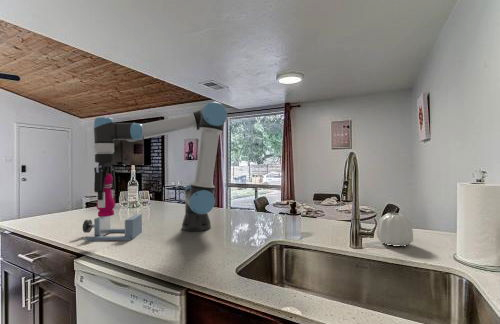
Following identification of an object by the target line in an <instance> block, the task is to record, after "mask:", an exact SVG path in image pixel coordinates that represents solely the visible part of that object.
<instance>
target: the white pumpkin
mask: <svg viewBox="0 0 500 324" xmlns="http://www.w3.org/2000/svg"><path fill="white" fill-rule="evenodd" d="M412 226H413V225H412V224H411V221H410V220H409V218H407V217H406V216H405V215H403V214H402V213H399V212H398V213H397V212H387V213H386V214H384V215H382V216H381V217H379V219H378V221H377V227H376V237H377V238H378V240H379V241H380V242H381V243H382V242H384V243H386V244H391V245H400V246H404V245H408V244H409V245H410V244H411V243H412V242H413V241H414V231H413V227H412ZM386 244H385V245H386ZM409 245H408V246H409Z"/></svg>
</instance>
